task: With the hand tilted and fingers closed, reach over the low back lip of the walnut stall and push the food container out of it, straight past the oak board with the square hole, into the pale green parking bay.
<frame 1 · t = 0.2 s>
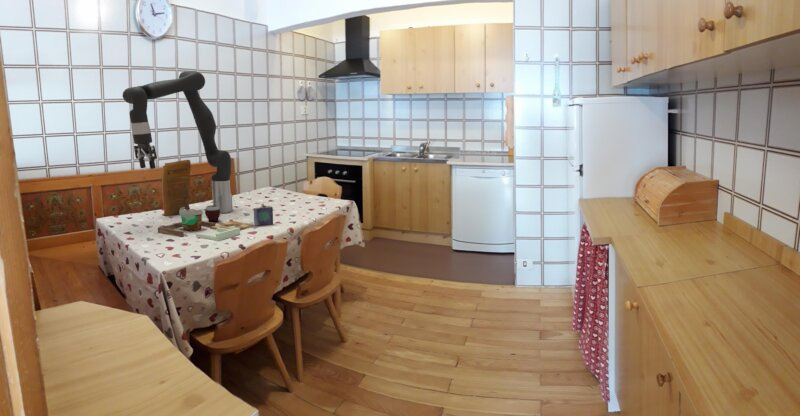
hand: (148, 168, 236), 28 cm above the table, tool pointing down, fingers open, 8 cm apart
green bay: (217, 235, 231), on the table
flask: (263, 225, 251), on the table
walnut stall: (187, 229, 239), on the table
food container: (189, 230, 239), on the table
mate gourd: (214, 222, 256), on the table
pancake mix bag: (178, 213, 273), on the table
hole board: (232, 227, 245), on the table
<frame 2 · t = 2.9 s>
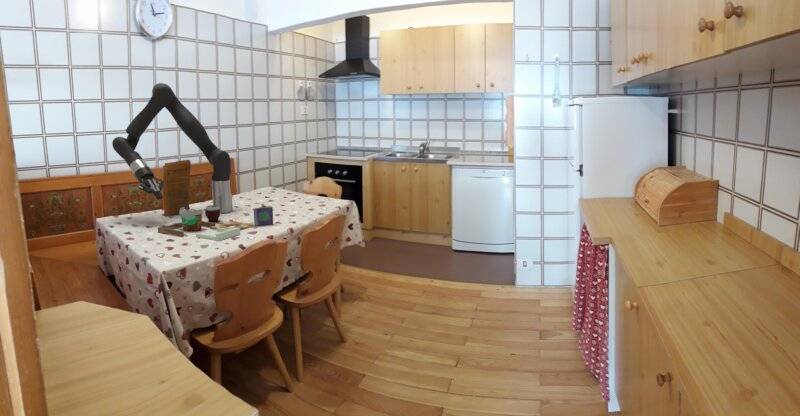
hand: (160, 198, 244), 13 cm above the table, tool tilted 45°, fingers closed
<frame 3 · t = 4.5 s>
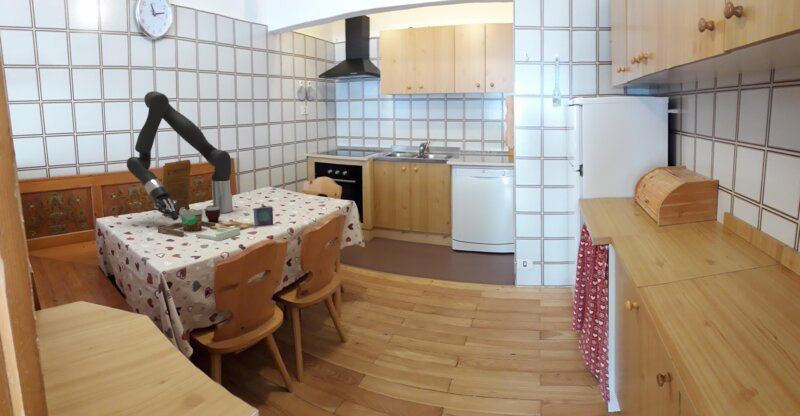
hand: (176, 219, 241), 4 cm above the table, tool tilted 45°, fingers closed
nothing on the table moved.
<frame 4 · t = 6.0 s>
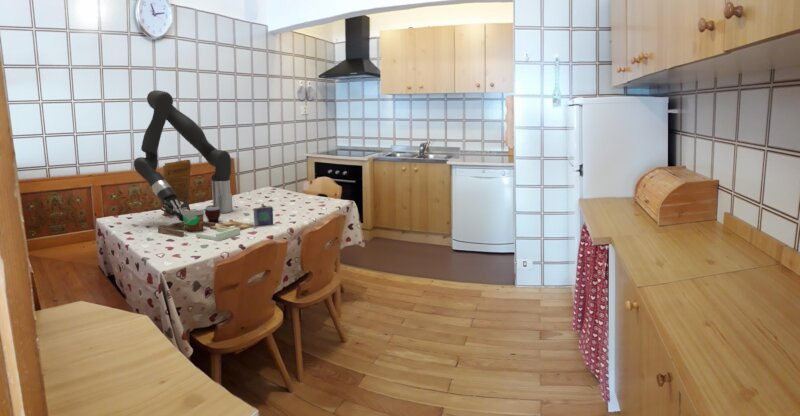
hand: (183, 220, 239), 4 cm above the table, tool tilted 45°, fingers closed
food container: (190, 230, 238), on the table, touching gripper
everything else where it was.
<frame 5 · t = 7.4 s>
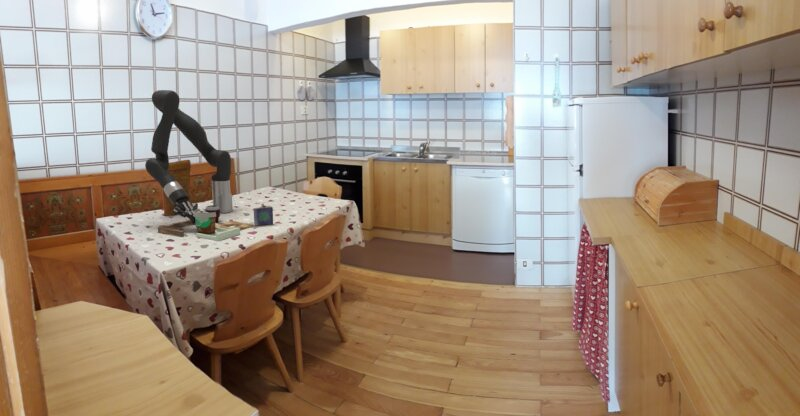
hand: (196, 222, 235), 4 cm above the table, tool tilted 45°, fingers closed
food container: (202, 233, 234), on the table, touching gripper
everything else where it was.
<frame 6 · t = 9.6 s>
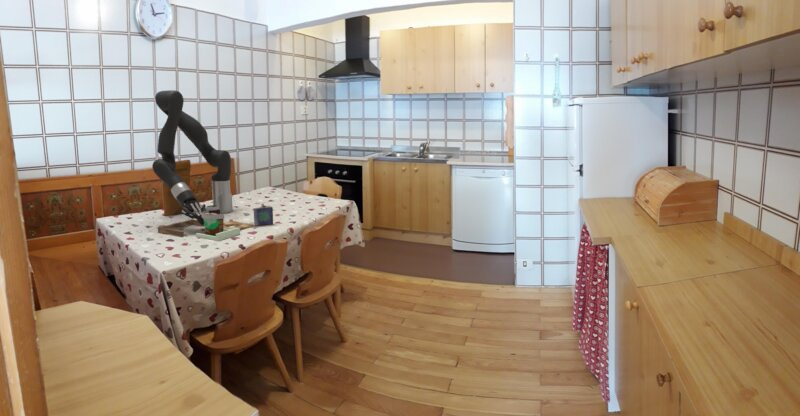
hand: (204, 223, 233), 4 cm above the table, tool tilted 45°, fingers closed
food container: (211, 234, 232), on the table
everything else where it was.
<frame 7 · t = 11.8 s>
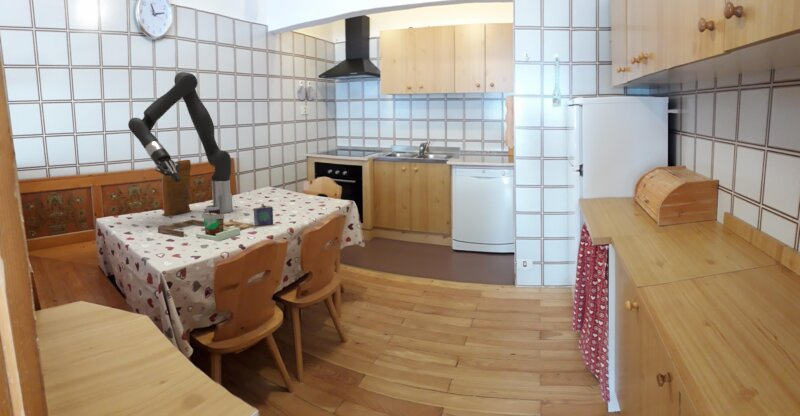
hand: (178, 180, 240), 22 cm above the table, tool tilted 45°, fingers closed
nothing on the table moved.
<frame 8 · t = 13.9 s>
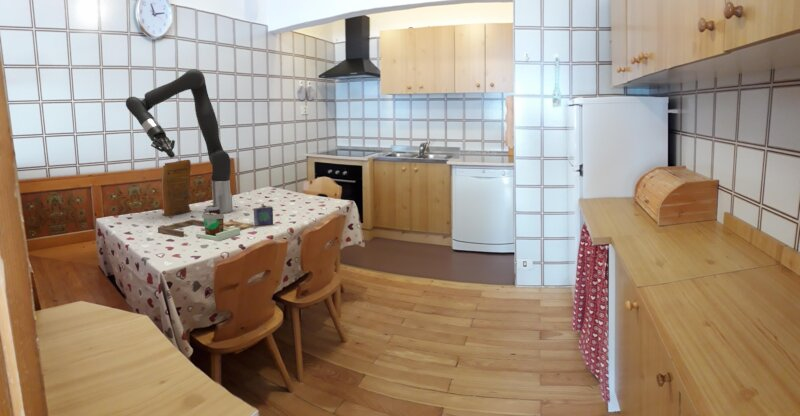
hand: (172, 156, 251), 32 cm above the table, tool tilted 45°, fingers closed
nothing on the table moved.
at the end: food container inside the target area (2.9 cm from its centre), on the table; food container tilted 0°; food container touching table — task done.
